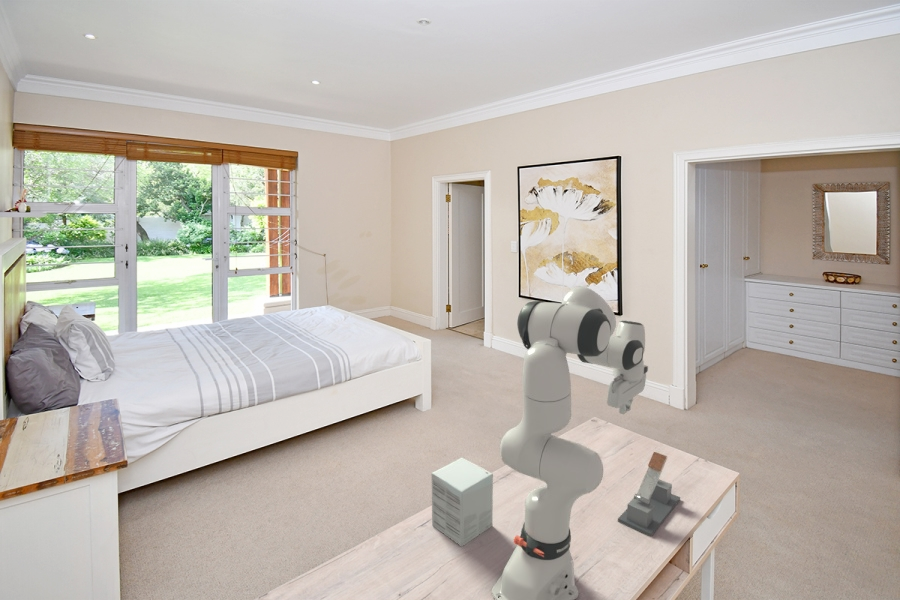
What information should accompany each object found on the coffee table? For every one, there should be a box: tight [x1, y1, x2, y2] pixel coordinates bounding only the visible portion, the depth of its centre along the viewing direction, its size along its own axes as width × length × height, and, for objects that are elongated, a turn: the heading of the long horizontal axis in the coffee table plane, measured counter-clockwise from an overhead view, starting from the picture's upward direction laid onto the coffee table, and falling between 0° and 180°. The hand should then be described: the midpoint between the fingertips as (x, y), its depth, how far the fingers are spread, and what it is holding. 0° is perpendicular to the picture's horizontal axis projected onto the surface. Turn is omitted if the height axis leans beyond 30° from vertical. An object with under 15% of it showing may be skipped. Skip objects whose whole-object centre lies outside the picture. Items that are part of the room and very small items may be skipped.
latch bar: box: [633, 451, 668, 505], centre depth 145 cm, size 17×4×2 cm
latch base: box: [617, 478, 681, 537], centre depth 147 cm, size 24×10×9 cm, turn 136°
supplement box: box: [431, 457, 494, 547], centre depth 140 cm, size 13×13×18 cm
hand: (624, 411), depth 151 cm, fingers closed
